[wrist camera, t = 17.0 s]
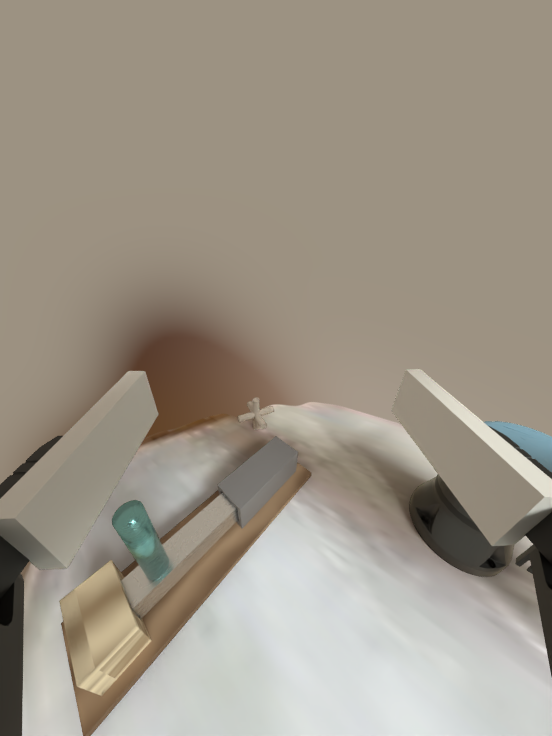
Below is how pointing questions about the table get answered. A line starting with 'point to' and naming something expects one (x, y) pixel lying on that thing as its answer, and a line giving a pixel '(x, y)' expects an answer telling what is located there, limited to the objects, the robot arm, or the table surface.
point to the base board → (183, 598)
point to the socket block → (101, 630)
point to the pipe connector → (256, 414)
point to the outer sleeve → (259, 478)
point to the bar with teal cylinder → (167, 548)
